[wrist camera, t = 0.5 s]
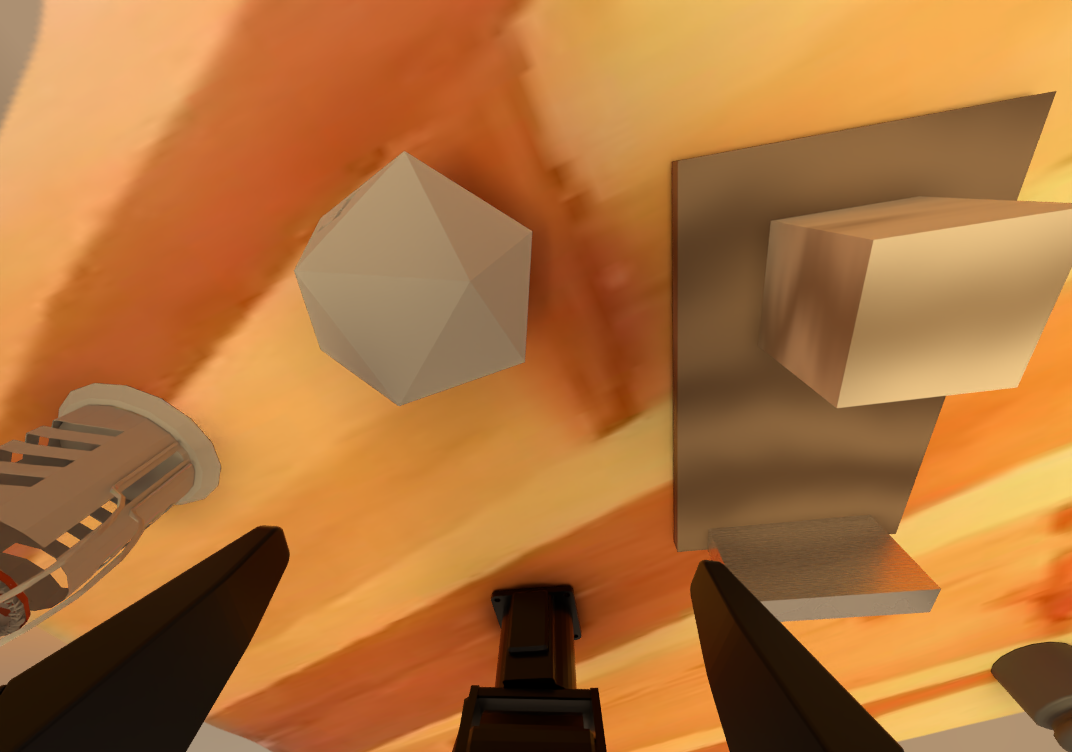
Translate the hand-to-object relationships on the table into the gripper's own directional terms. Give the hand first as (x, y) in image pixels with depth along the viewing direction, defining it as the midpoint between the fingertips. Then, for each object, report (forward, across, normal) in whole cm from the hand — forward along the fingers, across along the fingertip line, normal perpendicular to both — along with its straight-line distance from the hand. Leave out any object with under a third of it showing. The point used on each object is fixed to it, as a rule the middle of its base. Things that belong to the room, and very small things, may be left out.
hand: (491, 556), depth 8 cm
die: (+14, +4, -3) cm, 15 cm away
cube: (+13, -14, -4) cm, 20 cm away
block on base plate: (+14, -16, +1) cm, 21 cm away
